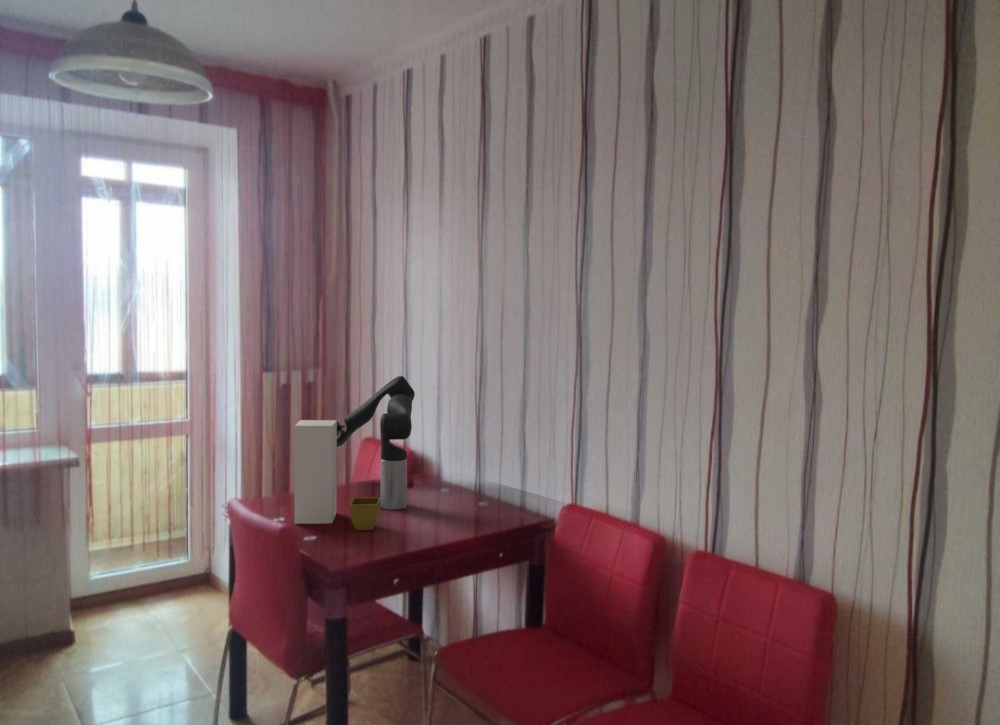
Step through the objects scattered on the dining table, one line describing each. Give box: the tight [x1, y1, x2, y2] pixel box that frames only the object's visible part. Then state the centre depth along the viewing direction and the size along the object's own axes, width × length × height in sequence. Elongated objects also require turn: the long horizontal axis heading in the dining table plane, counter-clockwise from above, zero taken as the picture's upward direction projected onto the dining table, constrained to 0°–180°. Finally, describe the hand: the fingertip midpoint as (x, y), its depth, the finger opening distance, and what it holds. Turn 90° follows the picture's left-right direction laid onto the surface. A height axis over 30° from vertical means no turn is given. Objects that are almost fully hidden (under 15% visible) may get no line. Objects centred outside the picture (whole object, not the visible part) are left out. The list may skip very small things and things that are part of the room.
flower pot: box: [349, 497, 381, 531], centre depth 239 cm, size 9×9×9 cm
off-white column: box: [293, 419, 338, 525], centre depth 248 cm, size 12×12×32 cm
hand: (323, 427), depth 271 cm, fingers closed on walnut bar, 2 cm apart
